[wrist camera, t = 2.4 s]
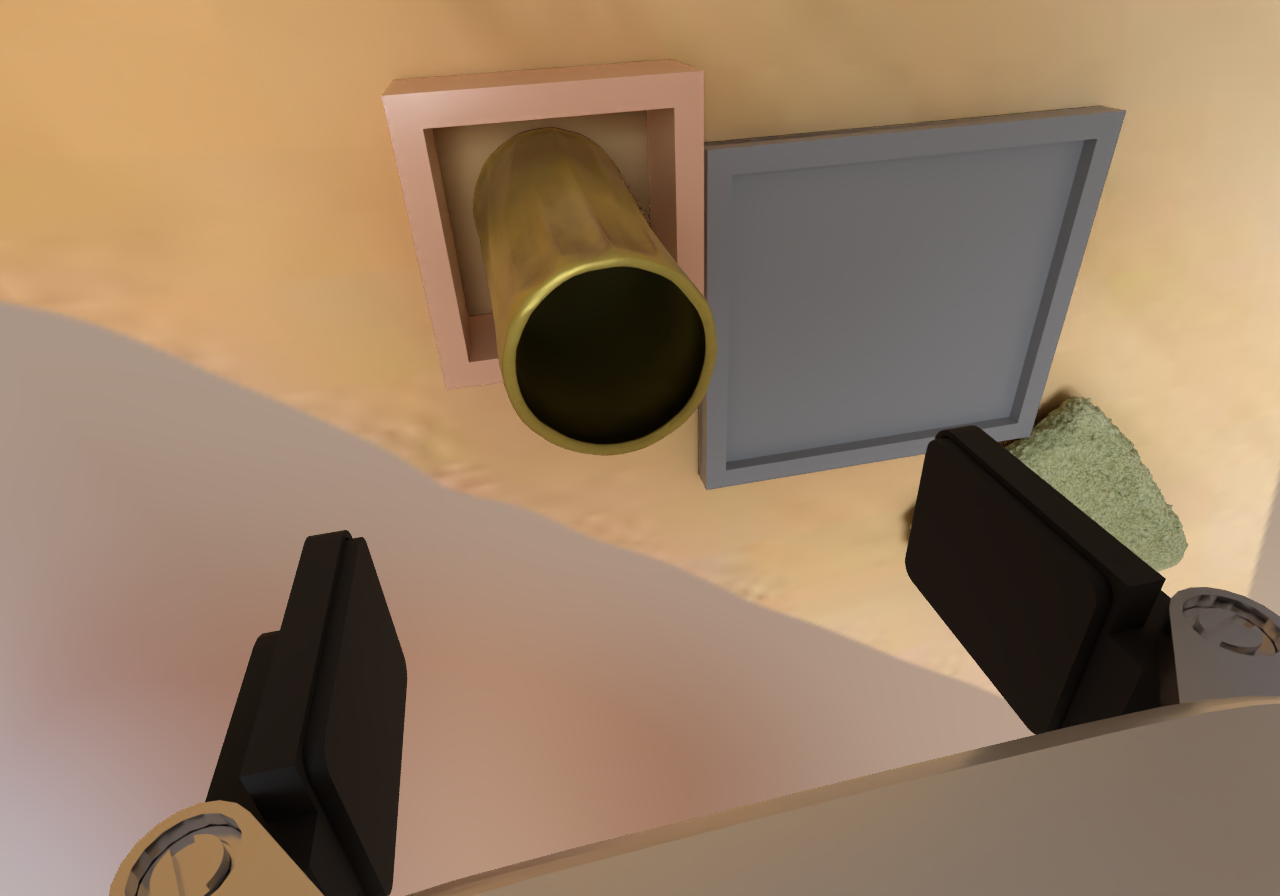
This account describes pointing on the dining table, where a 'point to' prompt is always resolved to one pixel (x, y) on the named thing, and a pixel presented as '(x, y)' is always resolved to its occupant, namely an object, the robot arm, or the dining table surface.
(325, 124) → the dining table surface
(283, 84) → the dining table surface
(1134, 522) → the washcloth
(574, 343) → the vase
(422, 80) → the pink square frame
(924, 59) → the dining table surface
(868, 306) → the tray
